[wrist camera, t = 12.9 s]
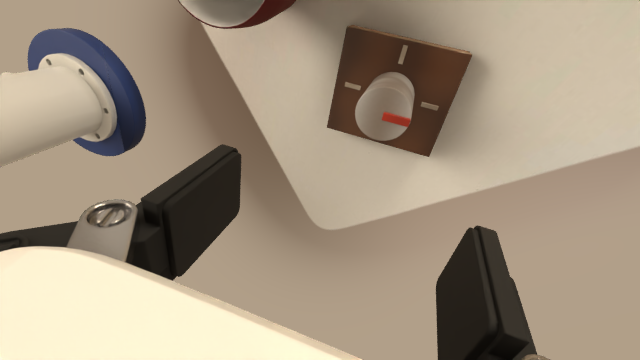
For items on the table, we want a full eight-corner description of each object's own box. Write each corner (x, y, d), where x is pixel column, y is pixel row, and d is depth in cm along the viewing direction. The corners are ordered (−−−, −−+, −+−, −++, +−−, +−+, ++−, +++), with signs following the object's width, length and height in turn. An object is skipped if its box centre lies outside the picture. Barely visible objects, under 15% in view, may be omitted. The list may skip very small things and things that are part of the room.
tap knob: (362, 111, 27) (348, 134, 23) (374, 66, 25) (361, 80, 20) (405, 123, 27) (400, 149, 22) (421, 78, 25) (420, 95, 20)
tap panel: (332, 121, 31) (326, 128, 29) (352, 24, 26) (346, 26, 24) (428, 148, 29) (428, 157, 28) (469, 51, 24) (472, 55, 23)
